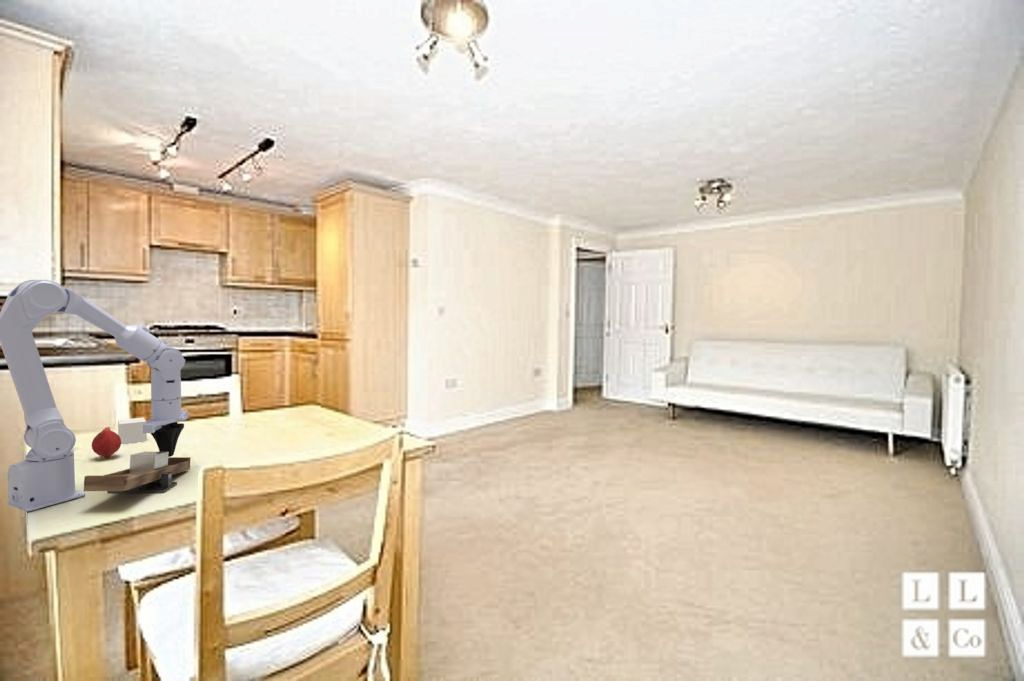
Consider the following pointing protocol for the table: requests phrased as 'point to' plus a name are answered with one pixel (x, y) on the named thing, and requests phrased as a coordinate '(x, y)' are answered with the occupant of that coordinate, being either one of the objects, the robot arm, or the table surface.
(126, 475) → the balance beam
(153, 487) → the beam stand
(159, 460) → the block
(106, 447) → the onion
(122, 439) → the white cube
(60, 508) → the table surface
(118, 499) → the table surface
